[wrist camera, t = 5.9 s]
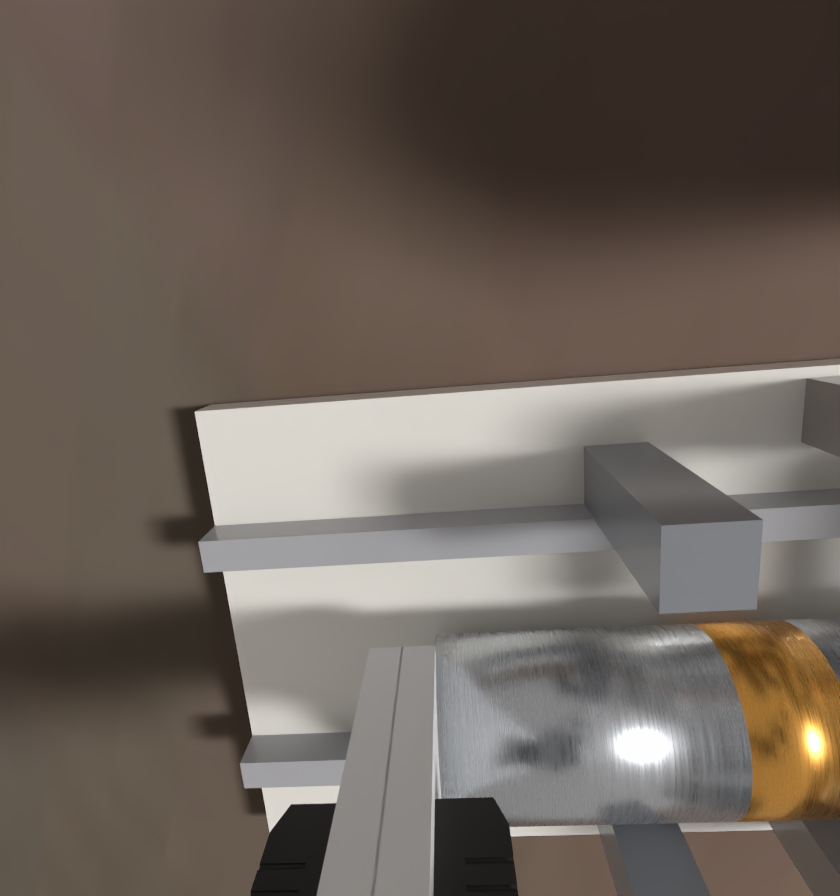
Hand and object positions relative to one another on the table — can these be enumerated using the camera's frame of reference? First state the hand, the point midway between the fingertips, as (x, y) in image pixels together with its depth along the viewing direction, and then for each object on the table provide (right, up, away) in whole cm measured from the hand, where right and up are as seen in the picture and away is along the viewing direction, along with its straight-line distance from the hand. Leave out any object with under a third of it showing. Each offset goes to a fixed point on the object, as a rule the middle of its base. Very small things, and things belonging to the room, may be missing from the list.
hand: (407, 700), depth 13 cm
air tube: (+8, +1, +1) cm, 8 cm away
